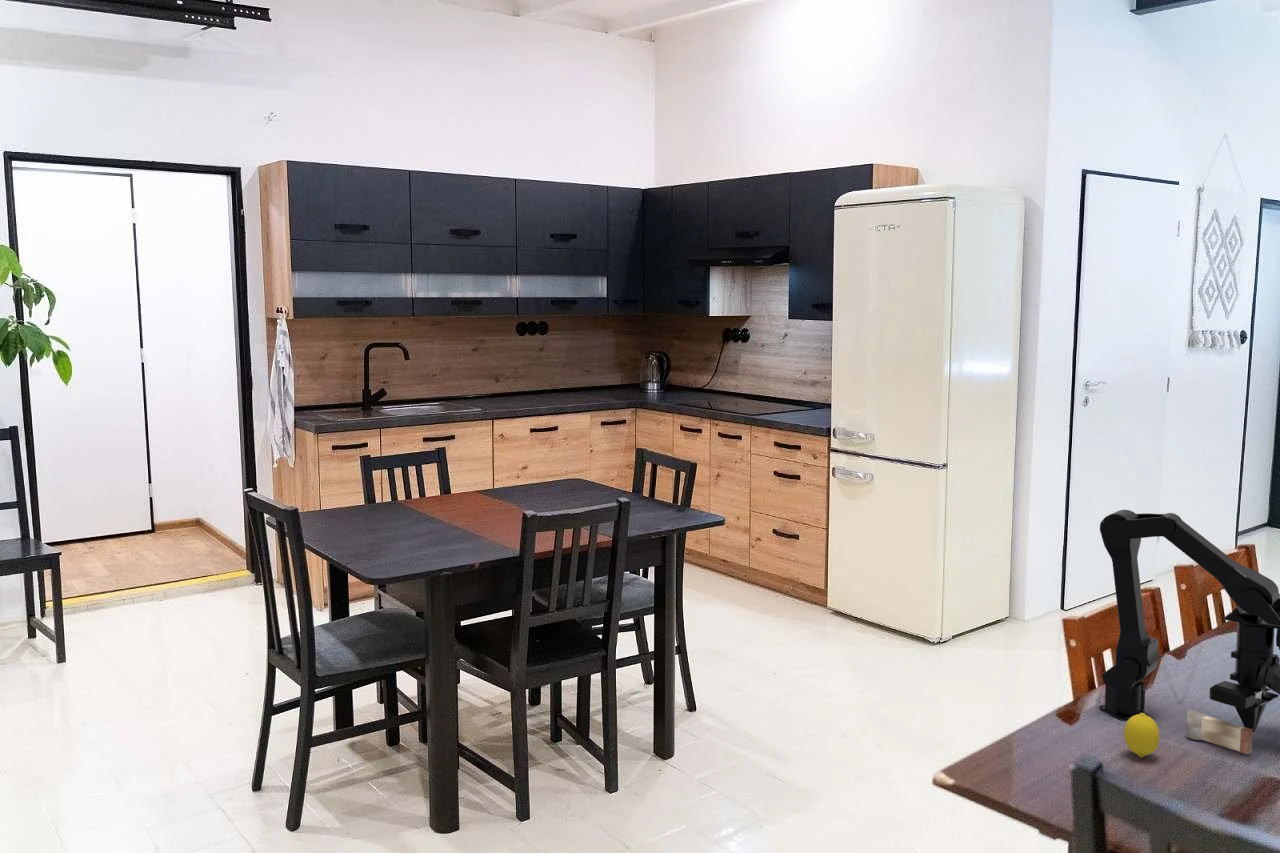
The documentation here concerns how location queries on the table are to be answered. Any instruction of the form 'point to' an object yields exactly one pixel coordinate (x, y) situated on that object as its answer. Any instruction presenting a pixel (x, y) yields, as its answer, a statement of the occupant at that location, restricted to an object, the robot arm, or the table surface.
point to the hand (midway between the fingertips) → (1250, 732)
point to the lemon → (1141, 734)
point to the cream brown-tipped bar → (1218, 732)
